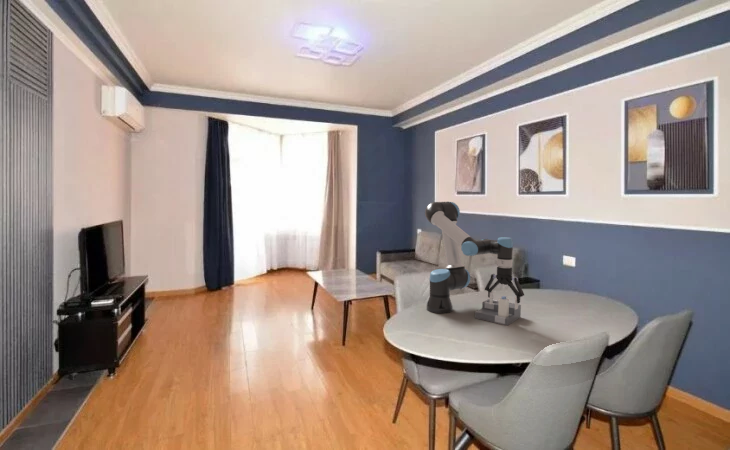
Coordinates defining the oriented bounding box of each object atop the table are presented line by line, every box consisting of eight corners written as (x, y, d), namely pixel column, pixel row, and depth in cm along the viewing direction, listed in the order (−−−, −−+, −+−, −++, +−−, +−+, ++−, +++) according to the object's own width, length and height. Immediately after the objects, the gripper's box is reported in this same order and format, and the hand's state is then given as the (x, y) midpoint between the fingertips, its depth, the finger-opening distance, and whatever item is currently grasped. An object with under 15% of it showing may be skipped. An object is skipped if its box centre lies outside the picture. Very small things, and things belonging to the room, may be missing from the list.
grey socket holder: (474, 318, 205) (475, 305, 204) (489, 310, 218) (489, 298, 218) (507, 325, 193) (507, 312, 192) (520, 317, 206) (520, 304, 205)
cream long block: (498, 320, 199) (498, 296, 198) (501, 319, 202) (501, 295, 201) (505, 322, 196) (506, 298, 195) (508, 320, 199) (509, 296, 198)
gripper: (479, 264, 202) (478, 303, 204) (526, 271, 185) (524, 312, 187) (485, 263, 208) (484, 300, 209) (531, 268, 191) (530, 309, 192)
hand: (503, 306), depth 198 cm, fingers open, 13 cm apart
